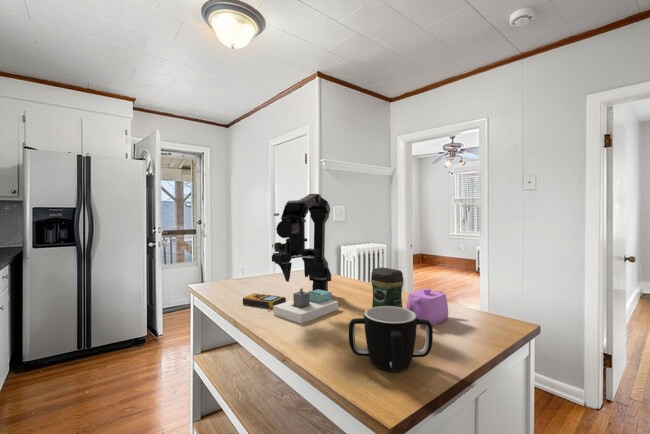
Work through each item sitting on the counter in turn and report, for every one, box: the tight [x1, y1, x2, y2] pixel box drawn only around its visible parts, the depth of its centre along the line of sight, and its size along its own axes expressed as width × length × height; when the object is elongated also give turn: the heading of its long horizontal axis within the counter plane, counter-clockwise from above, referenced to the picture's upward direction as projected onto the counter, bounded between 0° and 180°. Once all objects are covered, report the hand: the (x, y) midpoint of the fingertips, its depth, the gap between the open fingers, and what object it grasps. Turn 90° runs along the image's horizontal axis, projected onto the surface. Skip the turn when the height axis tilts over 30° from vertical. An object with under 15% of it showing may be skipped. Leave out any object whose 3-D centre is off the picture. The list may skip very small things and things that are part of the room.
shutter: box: [306, 289, 332, 303], centre depth 117 cm, size 7×7×3 cm
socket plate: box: [272, 299, 339, 325], centre depth 113 cm, size 19×14×3 cm
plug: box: [292, 287, 310, 309], centre depth 111 cm, size 4×4×9 cm
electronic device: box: [242, 292, 287, 310], centre depth 123 cm, size 8×16×3 cm, turn 64°
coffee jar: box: [370, 267, 404, 308], centre depth 97 cm, size 10×8×19 cm
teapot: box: [405, 287, 449, 327], centre depth 105 cm, size 18×10×10 cm, turn 129°
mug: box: [348, 306, 434, 373], centre depth 74 cm, size 16×16×12 cm
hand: (297, 279), depth 112 cm, fingers open, 9 cm apart
